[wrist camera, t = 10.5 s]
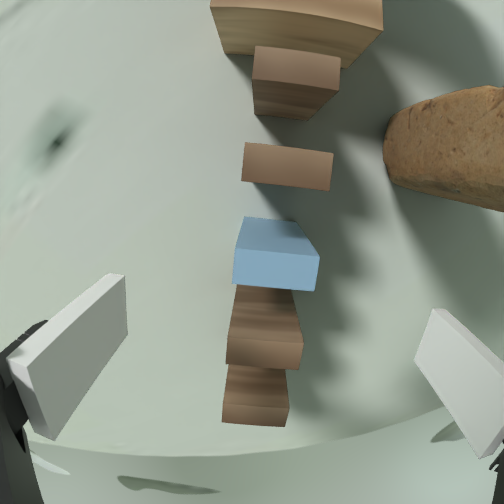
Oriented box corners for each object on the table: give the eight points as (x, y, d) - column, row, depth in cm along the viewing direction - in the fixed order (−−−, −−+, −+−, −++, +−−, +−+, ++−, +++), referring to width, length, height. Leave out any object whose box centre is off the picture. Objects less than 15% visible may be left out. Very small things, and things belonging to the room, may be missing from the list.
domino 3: (244, 216, 30) (235, 248, 18) (296, 222, 30) (320, 256, 18) (242, 239, 30) (232, 283, 19) (293, 244, 30) (314, 291, 19)
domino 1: (256, 92, 27) (255, 45, 15) (309, 99, 27) (340, 57, 15) (254, 114, 27) (251, 78, 16) (307, 120, 27) (338, 90, 16)
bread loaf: (369, 178, 28) (518, 204, 9) (382, 107, 26) (525, 52, 7) (453, 204, 29) (597, 252, 9) (464, 141, 27) (609, 142, 7)
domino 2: (250, 153, 28) (245, 142, 17) (303, 159, 28) (333, 153, 17) (248, 176, 29) (241, 181, 17) (301, 182, 29) (329, 191, 17)
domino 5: (234, 328, 33) (223, 403, 21) (280, 332, 33) (289, 408, 21) (232, 345, 33) (221, 422, 22) (277, 349, 33) (284, 426, 22)
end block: (231, 5, 24) (221, -50, 14) (348, 20, 24) (379, -27, 14) (224, 53, 25) (209, 6, 16) (347, 68, 26) (383, 30, 16)
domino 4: (238, 275, 31) (227, 337, 20) (288, 280, 31) (304, 343, 20) (237, 295, 32) (225, 363, 20) (285, 300, 32) (298, 369, 20)
